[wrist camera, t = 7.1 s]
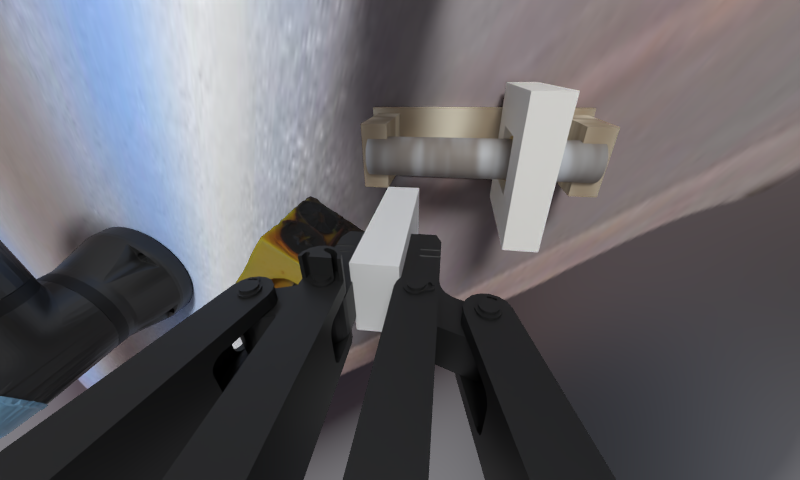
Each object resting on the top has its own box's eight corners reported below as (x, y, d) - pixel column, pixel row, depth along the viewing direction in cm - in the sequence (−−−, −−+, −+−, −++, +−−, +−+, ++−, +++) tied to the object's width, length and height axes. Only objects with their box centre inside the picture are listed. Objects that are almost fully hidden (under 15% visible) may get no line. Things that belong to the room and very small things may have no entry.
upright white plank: (489, 196, 29) (502, 249, 21) (506, 82, 24) (531, 90, 16) (515, 197, 29) (538, 252, 21) (537, 82, 24) (579, 90, 16)
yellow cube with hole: (382, 243, 36) (358, 298, 27) (341, 290, 41) (310, 350, 32) (310, 191, 34) (260, 233, 25) (276, 248, 39) (225, 299, 30)
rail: (377, 169, 31) (355, 197, 25) (374, 106, 28) (348, 119, 22) (573, 176, 28) (608, 210, 22) (593, 107, 25) (640, 122, 19)
